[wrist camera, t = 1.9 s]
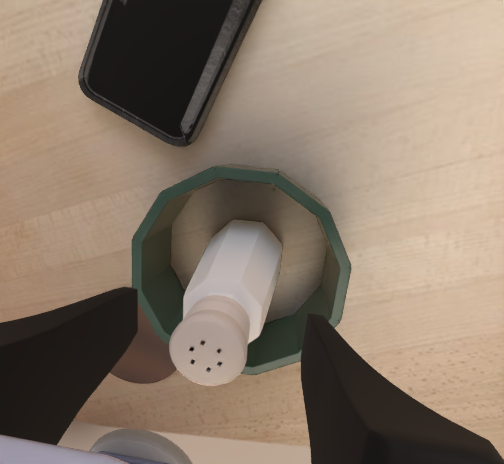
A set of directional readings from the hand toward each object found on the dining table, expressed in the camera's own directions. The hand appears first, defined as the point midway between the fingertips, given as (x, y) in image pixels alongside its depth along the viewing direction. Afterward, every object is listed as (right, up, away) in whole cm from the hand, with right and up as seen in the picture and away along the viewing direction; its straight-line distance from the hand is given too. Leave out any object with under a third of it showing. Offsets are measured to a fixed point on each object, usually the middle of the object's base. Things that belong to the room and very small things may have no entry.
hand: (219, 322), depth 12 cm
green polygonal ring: (+1, +2, +9) cm, 9 cm away
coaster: (-8, -5, +11) cm, 14 cm away
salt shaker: (+1, +2, +9) cm, 9 cm away
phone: (-3, +17, +5) cm, 18 cm away
